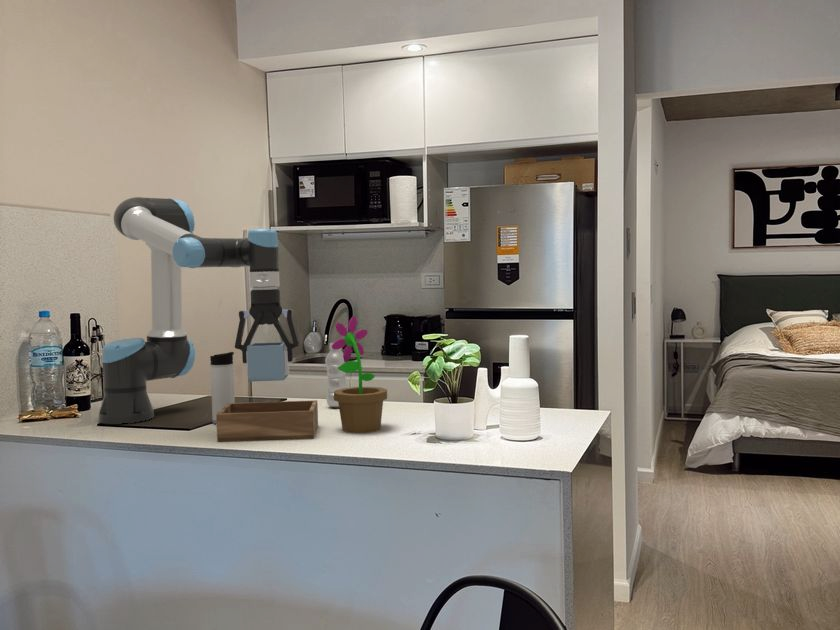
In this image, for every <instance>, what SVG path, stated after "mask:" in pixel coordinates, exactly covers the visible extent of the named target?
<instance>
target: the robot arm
mask: <svg viewBox="0 0 840 630" xmlns="http://www.w3.org/2000/svg"><path fill="white" fill-rule="evenodd" d="M193 213H194V212H193V211H192V209H191V208H190V205H189V204H187V203H186V202H185V201H183V200H180V199H175V198H169V197H168V198H159V197H158V198H157V197H141V196H140V197H139V196H136V197H135V196H133V197H131V198H127V199H125V200H123V201H122V202H121V203H119V204H118V205H117V207H116V209H115V210H114V213H113V224H114V226H115V228H116V230H117V231H118V232H119V233H120V234H121V235H123V236H124V237H126V238H128V239H131V240H132V241H133V240H135V241H140V240H141V241H142V242H145V245H146V246H147V247H148V248H149V249H150V254H151V255H150V261H151V262H150V263H151V264H150V267H151V268H150V271H151V274H150V275H151V277H150V279H151V280H150V281H151V282H150V283H151V329H150V331H148V332H147V333H146V341H145V339H144V338H143V337H130V338H123V339H118V340H113V341H110V342H107V343H106V344H105V345H104V346H103V347H102V350H101V351H102V352H101V355H102V356H101V363H102V377H103V398H102V401H101V405H100V407H99V411H98V422H99V423H100V424H103V425H104V424H105V425H123V424H122V423H128V424H136V423H140V421H142V422H145V420H146V421H149V419H150V420H151V418H152V419H154V418H155V410H154V406H153V405H152V402H151V399H150V397H149V395H148V391H147V381H155V380H161V379H163V380H164V379H175V378H177V377H183V376H186V375H187V374H188V373H189V372H190V371H191V370H192V368H193V367H194V364H195V360H196V349H195V347H194V342H192V340H191V339H189V338H188V333H187V332H186V331H185V330H184V329H183V325H182V323H183V321H182V318H183V317H182V315H183V314H182V313H183V312H182V268H188V269H189V268H190V269H196V268H199V269H200V268H243V267H249V287H250V288H251V290H250V293H249V294H250V308H249V309H247V310H240V311H239V312H238V317H239V318H238V319H239V322H238V327H237V333H236V338H235V343H234V349H236V350H240V351H241V353H242V354H241V355H242V357H241V358H242V363H243V364H246V373H247V374H246V375H247V377H248V362H247V346H248V345H250V344H252V341H253V339H254V337H255V334H256V332H257V330H258V328H259V326H263V325H273V326H274V328H275V330H276V331H277V332H278V334H279V336H280V338H281V340H282V342H284V344H285V345H286V347H287V349H285V350H284V356H285V375H288V376H289V375H290V363H292V362H293V360H294V355H293V350H294V349H295V348H296V347H298V346H299V345H300V340H299V337H298V333H297V331H296V327H295V323H294V319H293V317H294V316H293V315H294V310H293V309H292V308H290V309H284V308H283V307H282V306H281V290H280V289H279V287H280V284H281V283H280V261H279V260H280V259H279V258H280V257H279V255H280V254H279V241H278V240H279V239H278V232H277V230H276V229H274V228H252V229H249V230H248V232H247V237H245V238H244V237H242V238H234V237H233V238H231V237H230V238H227V237H225V238H224V237H223V238H222V237H221V238H220V237H219V238H216V237H201V236H200V235H196V234H194V233H193V232H194V231H195V223H196V222H195V216H194V214H193ZM282 314H283V316H284V318H286V322H287V325H288V329H289V333H290V336H291V341H290V339H289V337H288V335H287V334H286V331H285V330H284V328H283V326H282V324H281V322H280V320H279V318H280V317H281V315H282ZM249 315H250V316H251V317H252V318H253V320H254V321H253V323H252V325H251V327H250V329H249V332H248V334H247V337H246V339H245V340H244V342H243V338H244V337H243V336H244V332H245V326H246V320H247V319H248V318H249ZM242 342H243V344H242ZM153 417H154V418H153ZM135 422H136V423H135Z"/></svg>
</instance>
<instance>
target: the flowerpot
mask: <svg viewBox="0 0 840 630" xmlns="http://www.w3.org/2000/svg"><path fill="white" fill-rule="evenodd" d="M357 324H358V321H357V317H356V316H353V315H352V317H351V318H350V320H349V321H348V326H347V327H348V328H347V327H346V326H345V325H344V324H343V323H341V322H337V323H335V330H336V331H337V333H338V334H339V335H340V336H343V337H344V339H343V338H339V339H337V340H334V341H333V342H332V343H333V345H332V349H340V348H342V349H343V348H344V349H343V358H344V362H345V363H344V364H342V365H341V366H339V367H338V370H341V371H343V372H345V373H346V374H347V373H348V374H352V373H355V372H357V371H358V386H355V387H354V386H352V387H346V388H343V389H339V390H335V392H334V400H335V401H337V402H338V403H339V408H338V409H339V415H340V422H341V428H342V429H341V430H342V432H345V433H352V434H367V433H374V432H375V433H376V432H378V431H380V430H381V428H382V419H383V418H382V415H383V406H384V401H386V400H388V389H387V388H383V387H377V386H363V381H365V382H370V381H372V380H373V379H374V378H375V376H376V375H375V374H373V373H370V372H365V373H363V366H362V361H361V356H363V355H364V354H365V351H364V347H363V346H362V344H360V343H359V342H356V340H362V339H363V338H365V337H366V336H367V335H368V333H369V331H368V330H367V329H359V330H357ZM356 330H357V331H356ZM355 331H356V332H355ZM354 332H355V333H354ZM345 345H346V347H345ZM353 351H354V352H355V355H356V361H355V360H351V358H352V352H353Z"/></svg>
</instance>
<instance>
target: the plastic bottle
mask: <svg viewBox="0 0 840 630" xmlns="http://www.w3.org/2000/svg"><path fill="white" fill-rule="evenodd" d="M333 343H334V342H330V343H329V347H328V349H329V352H328V354H327V356H325V360H324V361H325V363H324V364H325V368H326V373H327V374H326V376H327V393H326V404H327V406H328V407H331V408H334V409H335V408H336V409H339V403H338V402H337V401H335V400H334V392H335V390H339V389H343V388H347V382H346V374H347V373H345V372H343V371H341V370H338V367H339V366H341V365H342V364H344V363H345V362H344V358H343V353H344V351H342V349H343V347H342V348H340V349H332V345H333Z"/></svg>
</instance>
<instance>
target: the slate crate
mask: <svg viewBox="0 0 840 630" xmlns="http://www.w3.org/2000/svg"><path fill="white" fill-rule="evenodd" d="M285 349H287V347H286V345H285V344H284V342H283V341H282V342H281V341H280V342H279V341H277V342H275V341H274V342H251V343H250V345H248V346H247V362H248V376H247V379H248V380H247V381H248V382H250V383H251V382H273V381H275V382H276V381H278V382H279V381H285V380H286V378H287V377H288V376H289V375H285V356H284V350H285Z"/></svg>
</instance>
